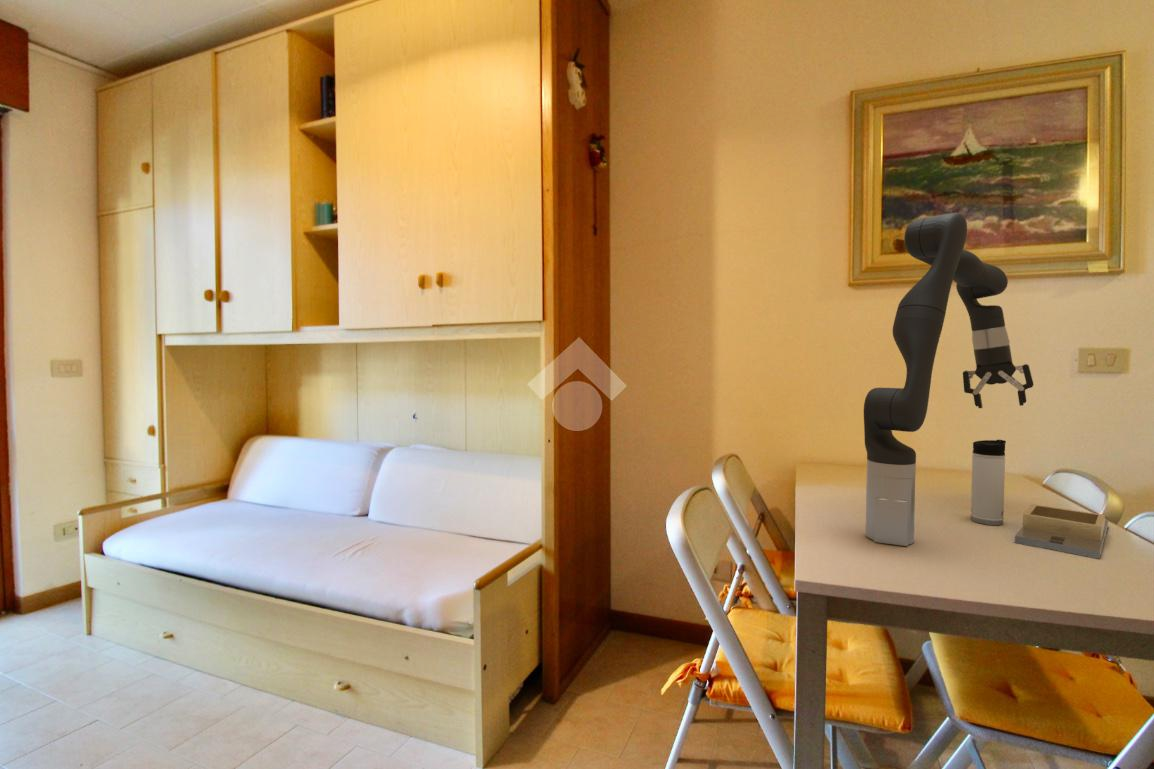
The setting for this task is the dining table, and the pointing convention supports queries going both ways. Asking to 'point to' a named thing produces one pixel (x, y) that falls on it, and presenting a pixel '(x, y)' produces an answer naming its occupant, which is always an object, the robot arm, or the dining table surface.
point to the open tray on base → (1063, 530)
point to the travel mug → (988, 482)
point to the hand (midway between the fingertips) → (1000, 406)
